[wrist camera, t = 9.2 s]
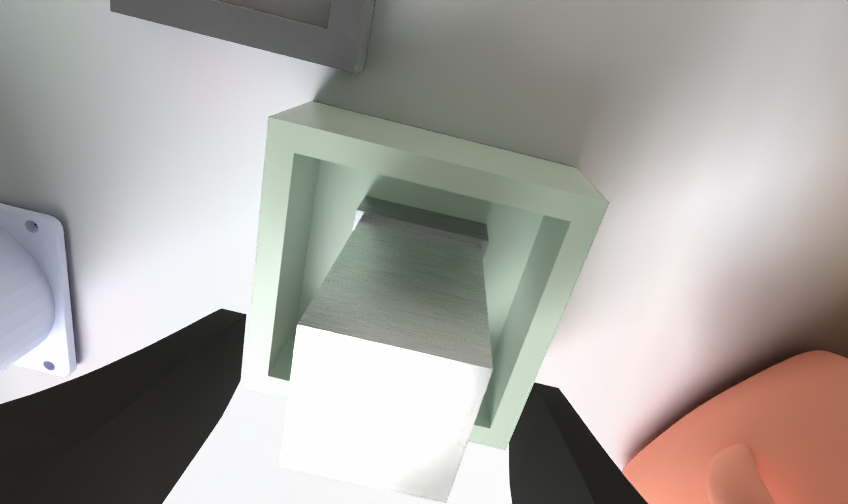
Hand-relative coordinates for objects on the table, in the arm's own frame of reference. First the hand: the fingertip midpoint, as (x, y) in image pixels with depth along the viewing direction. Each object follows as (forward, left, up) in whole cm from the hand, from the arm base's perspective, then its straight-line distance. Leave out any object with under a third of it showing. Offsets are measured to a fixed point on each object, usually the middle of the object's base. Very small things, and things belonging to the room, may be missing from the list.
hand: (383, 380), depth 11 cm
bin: (0, 0, -8) cm, 8 cm away
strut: (0, 0, -7) cm, 7 cm away
